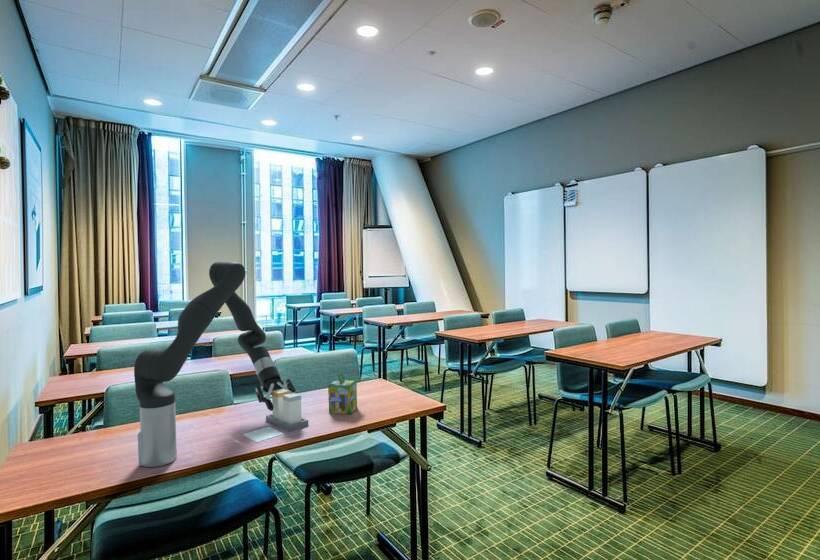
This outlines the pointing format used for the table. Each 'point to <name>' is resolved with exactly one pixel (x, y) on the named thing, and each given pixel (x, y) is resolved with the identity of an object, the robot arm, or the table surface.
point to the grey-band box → (292, 408)
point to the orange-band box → (278, 403)
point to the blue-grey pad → (263, 434)
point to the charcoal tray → (285, 426)
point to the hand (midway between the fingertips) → (282, 406)
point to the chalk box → (342, 396)
